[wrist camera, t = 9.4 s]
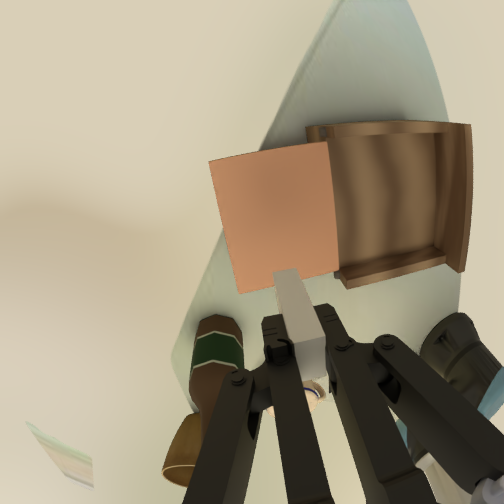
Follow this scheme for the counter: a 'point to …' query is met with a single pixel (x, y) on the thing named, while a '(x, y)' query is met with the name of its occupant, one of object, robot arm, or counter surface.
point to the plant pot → (183, 452)
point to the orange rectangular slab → (277, 213)
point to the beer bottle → (213, 362)
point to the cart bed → (399, 196)
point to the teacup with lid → (308, 395)
